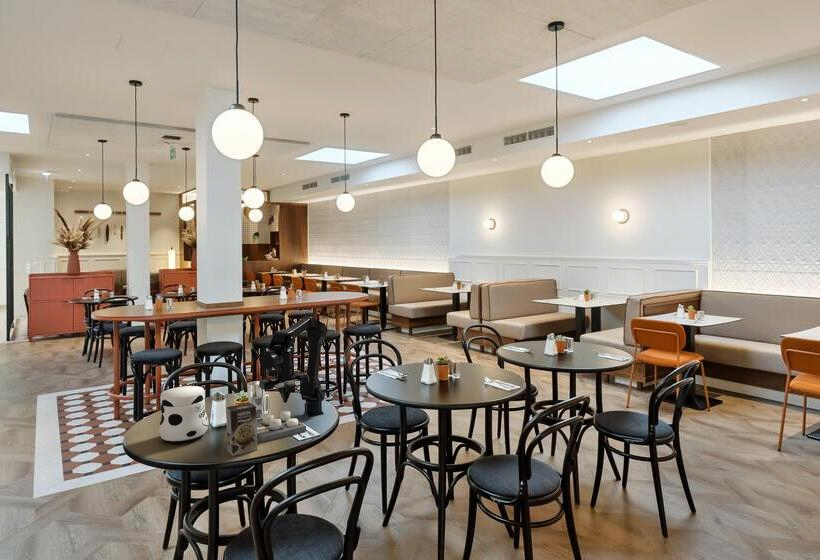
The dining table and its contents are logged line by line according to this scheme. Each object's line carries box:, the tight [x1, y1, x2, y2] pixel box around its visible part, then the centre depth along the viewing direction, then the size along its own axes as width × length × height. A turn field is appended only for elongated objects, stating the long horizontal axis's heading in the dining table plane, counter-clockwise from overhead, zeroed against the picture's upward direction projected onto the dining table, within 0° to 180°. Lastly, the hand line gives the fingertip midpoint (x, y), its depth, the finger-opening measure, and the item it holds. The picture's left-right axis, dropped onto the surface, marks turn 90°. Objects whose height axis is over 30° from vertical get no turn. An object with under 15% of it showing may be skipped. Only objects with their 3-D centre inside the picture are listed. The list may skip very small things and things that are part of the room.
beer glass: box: [247, 380, 266, 421], centre depth 218 cm, size 7×7×15 cm
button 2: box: [269, 419, 281, 430], centre depth 199 cm, size 4×4×3 cm
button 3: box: [278, 410, 292, 421], centre depth 209 cm, size 4×4×3 cm
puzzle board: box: [257, 416, 307, 444], centre depth 203 cm, size 18×17×3 cm
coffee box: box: [225, 402, 258, 457], centre depth 183 cm, size 9×6×16 cm
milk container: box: [158, 385, 209, 443], centre depth 197 cm, size 17×17×18 cm
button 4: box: [287, 417, 299, 428], centre depth 203 cm, size 4×4×3 cm
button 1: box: [262, 413, 275, 425], centre depth 204 cm, size 4×4×3 cm
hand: (285, 402), depth 203 cm, fingers closed
